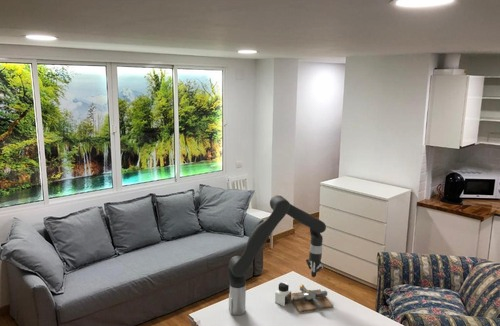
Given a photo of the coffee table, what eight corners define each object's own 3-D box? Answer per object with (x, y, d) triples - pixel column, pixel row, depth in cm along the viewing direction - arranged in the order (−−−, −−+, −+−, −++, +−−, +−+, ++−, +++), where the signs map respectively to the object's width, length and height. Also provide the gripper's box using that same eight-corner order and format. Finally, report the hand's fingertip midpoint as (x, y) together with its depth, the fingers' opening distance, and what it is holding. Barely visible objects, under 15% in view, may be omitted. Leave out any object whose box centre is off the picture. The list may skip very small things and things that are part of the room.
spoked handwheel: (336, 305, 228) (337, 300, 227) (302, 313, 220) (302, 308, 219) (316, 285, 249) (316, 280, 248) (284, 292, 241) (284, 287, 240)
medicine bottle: (284, 306, 229) (285, 288, 227) (274, 302, 233) (275, 284, 231) (291, 301, 235) (291, 283, 232) (281, 297, 239) (281, 279, 236)
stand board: (298, 313, 223) (298, 310, 223) (287, 296, 240) (287, 293, 240) (333, 307, 229) (333, 304, 229) (319, 291, 246) (320, 288, 246)
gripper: (303, 248, 238) (301, 274, 241) (320, 256, 228) (317, 282, 232) (311, 245, 242) (309, 270, 246) (328, 253, 233) (325, 279, 236)
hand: (313, 276), depth 239 cm, fingers closed
